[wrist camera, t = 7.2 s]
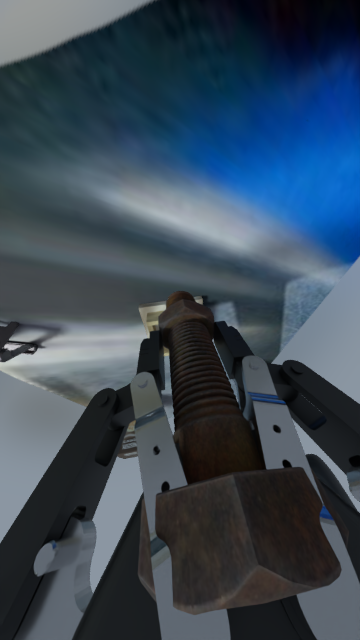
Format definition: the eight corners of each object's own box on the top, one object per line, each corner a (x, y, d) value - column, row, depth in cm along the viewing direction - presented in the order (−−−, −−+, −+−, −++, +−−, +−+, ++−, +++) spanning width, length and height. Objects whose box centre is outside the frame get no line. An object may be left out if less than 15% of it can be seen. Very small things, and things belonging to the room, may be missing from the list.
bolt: (189, 267, 14) (388, 621, 2) (213, 302, 17) (362, 543, 4) (144, 301, 15) (89, 613, 3) (173, 329, 18) (201, 559, 6)
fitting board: (200, 295, 33) (206, 307, 29) (201, 339, 42) (205, 353, 38) (139, 304, 33) (136, 317, 29) (152, 347, 41) (151, 362, 37)
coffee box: (147, 394, 55) (144, 448, 42) (153, 401, 59) (151, 453, 46) (124, 399, 56) (114, 455, 43) (131, 406, 59) (123, 459, 47)
